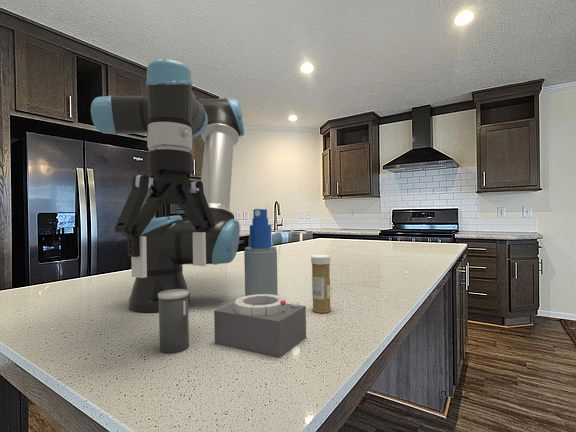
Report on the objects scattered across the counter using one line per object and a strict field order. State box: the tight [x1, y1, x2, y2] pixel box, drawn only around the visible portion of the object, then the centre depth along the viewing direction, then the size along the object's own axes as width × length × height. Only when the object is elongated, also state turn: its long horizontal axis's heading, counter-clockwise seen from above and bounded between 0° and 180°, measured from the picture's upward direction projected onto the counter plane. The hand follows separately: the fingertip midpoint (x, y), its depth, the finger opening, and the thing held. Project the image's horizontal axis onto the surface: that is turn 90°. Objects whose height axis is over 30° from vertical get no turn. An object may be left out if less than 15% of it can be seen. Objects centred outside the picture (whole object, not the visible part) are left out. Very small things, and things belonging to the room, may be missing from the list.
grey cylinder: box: [158, 289, 190, 355], centre depth 61 cm, size 5×5×10 cm
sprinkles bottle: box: [310, 254, 332, 314], centre depth 82 cm, size 5×5×13 cm
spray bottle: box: [243, 208, 279, 296], centre depth 92 cm, size 9×9×25 cm
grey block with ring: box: [213, 294, 307, 358], centre depth 64 cm, size 14×10×8 cm
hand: (172, 270), depth 60 cm, fingers open, 13 cm apart
